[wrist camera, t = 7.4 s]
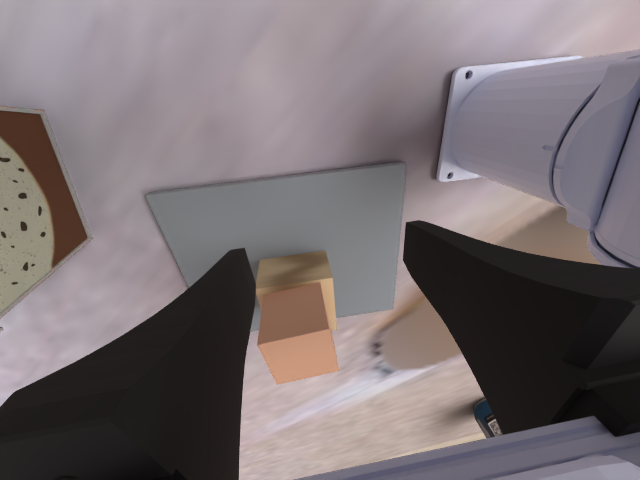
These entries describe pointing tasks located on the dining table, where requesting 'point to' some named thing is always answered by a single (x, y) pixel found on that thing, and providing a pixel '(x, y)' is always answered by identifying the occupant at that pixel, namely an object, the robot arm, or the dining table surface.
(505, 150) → the robot arm
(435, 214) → the dining table surface
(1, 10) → the dining table surface
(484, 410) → the soda can
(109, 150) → the dining table surface
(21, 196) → the food container
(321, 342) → the terracotta block
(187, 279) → the slate board
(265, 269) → the oak base block
